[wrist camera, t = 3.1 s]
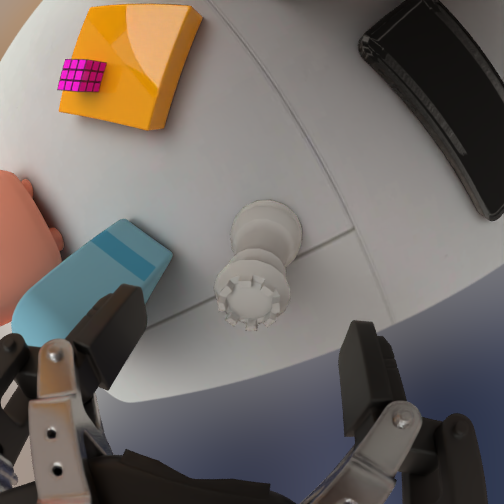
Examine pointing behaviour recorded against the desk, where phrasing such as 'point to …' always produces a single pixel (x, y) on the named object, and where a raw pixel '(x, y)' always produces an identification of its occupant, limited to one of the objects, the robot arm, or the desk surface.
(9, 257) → the teapot
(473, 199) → the phone
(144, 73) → the orange square tile
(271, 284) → the rook chess piece
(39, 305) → the data package
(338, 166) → the desk surface
